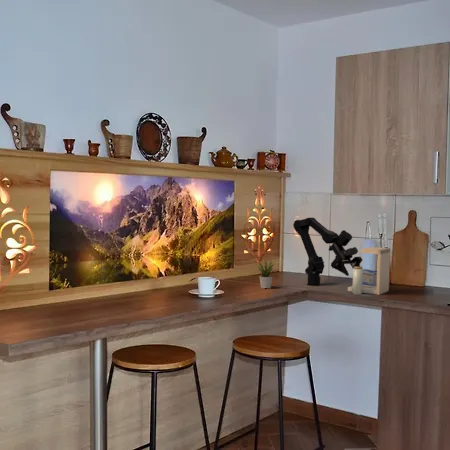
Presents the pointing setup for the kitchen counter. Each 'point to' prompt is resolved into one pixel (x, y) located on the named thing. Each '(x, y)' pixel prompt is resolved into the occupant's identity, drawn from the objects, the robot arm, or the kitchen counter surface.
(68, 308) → the kitchen counter surface
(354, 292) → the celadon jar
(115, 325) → the kitchen counter surface
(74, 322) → the kitchen counter surface
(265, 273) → the house plant
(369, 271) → the medicine box
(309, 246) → the robot arm
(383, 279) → the light wood frame
